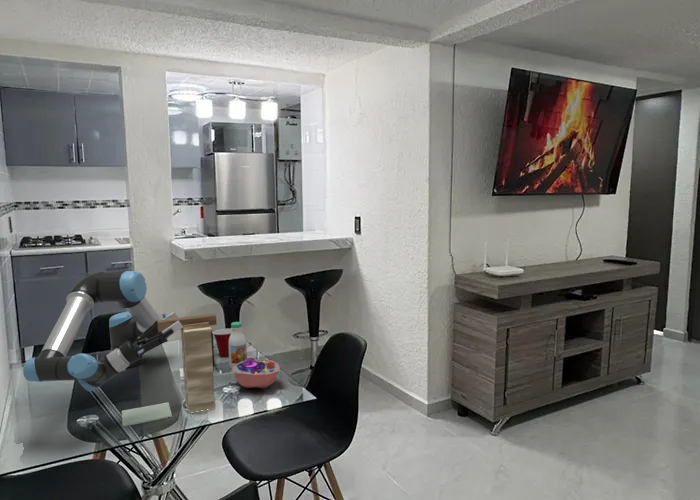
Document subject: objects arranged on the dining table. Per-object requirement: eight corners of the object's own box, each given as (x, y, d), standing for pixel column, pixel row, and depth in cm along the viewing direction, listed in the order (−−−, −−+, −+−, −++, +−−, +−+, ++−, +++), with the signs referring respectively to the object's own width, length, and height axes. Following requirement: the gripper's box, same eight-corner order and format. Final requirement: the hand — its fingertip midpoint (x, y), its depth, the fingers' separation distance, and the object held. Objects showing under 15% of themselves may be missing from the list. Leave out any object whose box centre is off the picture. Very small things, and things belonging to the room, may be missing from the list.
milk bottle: (225, 368, 227) (223, 324, 224) (236, 362, 234) (234, 319, 231) (240, 370, 224) (238, 326, 221) (250, 364, 231) (248, 321, 228)
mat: (121, 412, 186) (121, 410, 186) (168, 403, 192) (168, 402, 192) (122, 426, 175) (122, 425, 175) (172, 417, 182) (171, 415, 182)
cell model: (263, 399, 195) (262, 370, 194) (223, 389, 205) (222, 362, 203) (289, 383, 210) (289, 356, 208) (251, 374, 220) (250, 349, 218)
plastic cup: (231, 349, 252) (230, 325, 250) (241, 355, 244) (240, 330, 242) (210, 354, 245) (208, 330, 244) (219, 360, 237) (218, 335, 235)
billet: (157, 329, 183) (157, 320, 183) (214, 322, 192) (214, 313, 191) (158, 332, 180) (157, 322, 180) (216, 324, 189) (216, 315, 188)
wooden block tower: (185, 400, 195) (180, 319, 190) (209, 396, 199) (205, 316, 194) (189, 413, 184) (184, 328, 180) (215, 408, 188) (210, 324, 183)
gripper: (129, 353, 191) (180, 318, 197) (132, 376, 168) (189, 336, 174) (117, 337, 188) (168, 303, 194) (118, 359, 166) (176, 319, 172)
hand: (178, 319), depth 184 cm, fingers open, 12 cm apart
